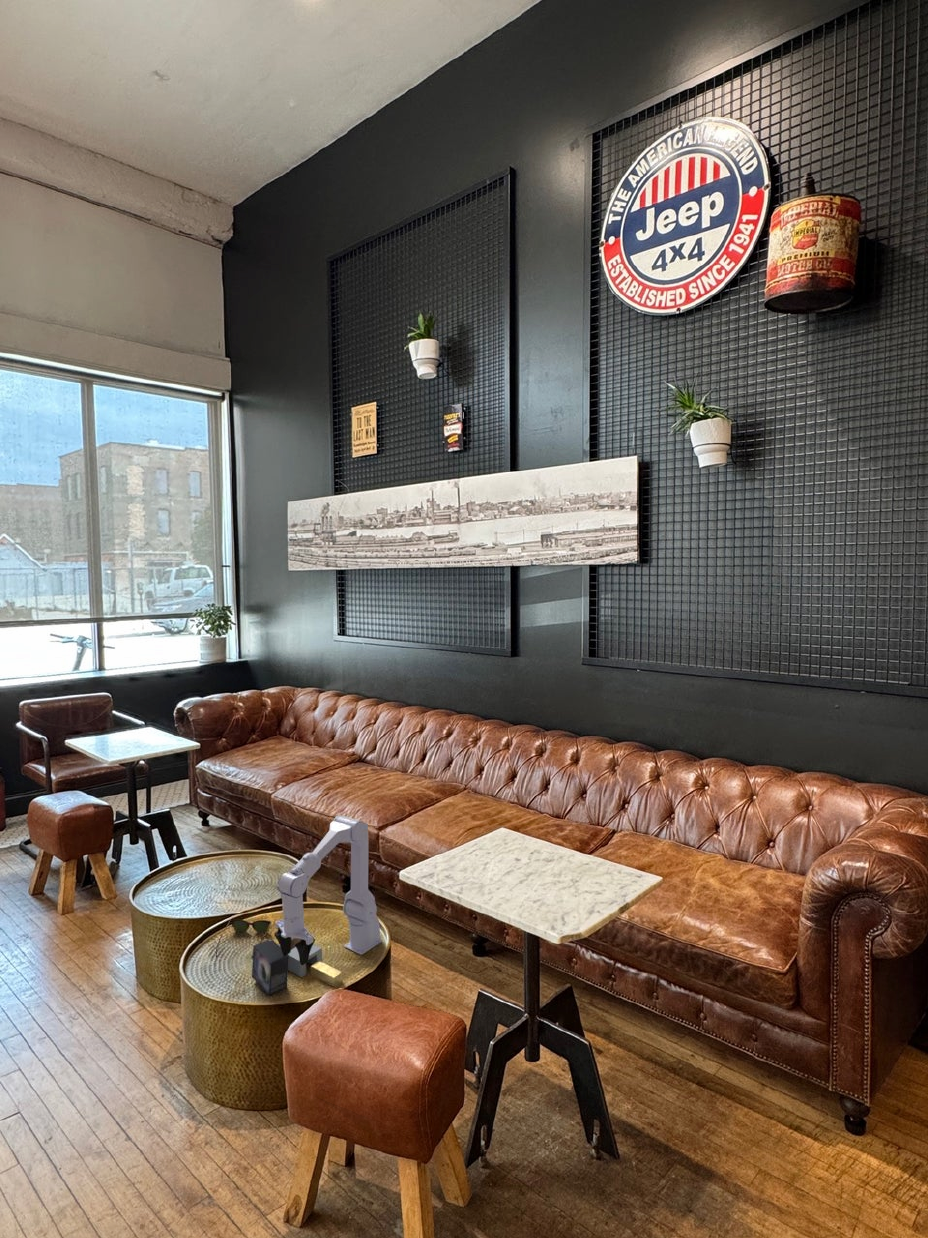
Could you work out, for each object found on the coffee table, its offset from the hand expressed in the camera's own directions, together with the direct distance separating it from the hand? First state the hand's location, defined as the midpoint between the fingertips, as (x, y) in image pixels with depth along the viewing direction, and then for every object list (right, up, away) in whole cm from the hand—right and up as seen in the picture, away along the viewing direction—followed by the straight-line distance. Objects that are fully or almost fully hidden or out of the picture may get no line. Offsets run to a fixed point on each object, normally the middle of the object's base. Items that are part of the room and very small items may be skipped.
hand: (295, 958), depth 210 cm
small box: (-9, -10, +5) cm, 14 cm away
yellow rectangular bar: (+8, -10, +7) cm, 14 cm away
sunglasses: (-23, -8, +26) cm, 36 cm away
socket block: (0, -9, +13) cm, 16 cm away
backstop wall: (-6, -8, +18) cm, 21 cm away
